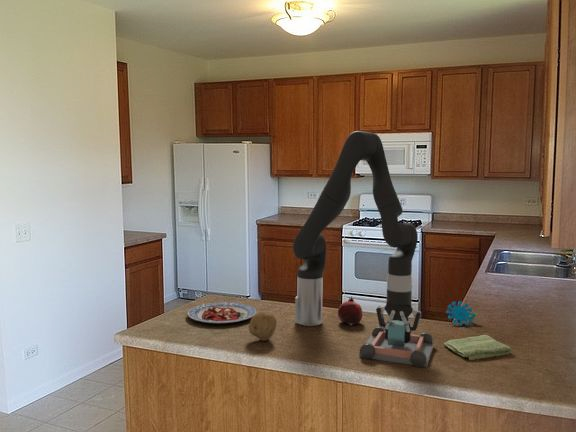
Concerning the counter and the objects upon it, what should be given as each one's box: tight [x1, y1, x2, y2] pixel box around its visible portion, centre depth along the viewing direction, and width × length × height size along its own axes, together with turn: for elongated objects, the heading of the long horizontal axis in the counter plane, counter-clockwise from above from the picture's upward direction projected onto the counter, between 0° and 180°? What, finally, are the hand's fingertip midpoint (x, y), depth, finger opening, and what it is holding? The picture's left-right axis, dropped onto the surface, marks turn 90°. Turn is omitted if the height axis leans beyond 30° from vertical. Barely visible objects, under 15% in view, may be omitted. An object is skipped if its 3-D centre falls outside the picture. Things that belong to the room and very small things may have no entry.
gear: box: [445, 300, 478, 327], centre depth 192 cm, size 11×6×10 cm
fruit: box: [337, 295, 363, 327], centre depth 189 cm, size 9×10×10 cm
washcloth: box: [443, 334, 513, 361], centre depth 164 cm, size 13×18×3 cm
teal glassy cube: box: [388, 320, 406, 347], centre depth 161 cm, size 5×6×6 cm
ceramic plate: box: [187, 301, 257, 325], centre depth 197 cm, size 26×26×3 cm
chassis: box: [358, 325, 434, 368], centre depth 162 cm, size 20×19×4 cm
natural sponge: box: [248, 310, 278, 342], centre depth 171 cm, size 9×9×10 cm
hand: (397, 341), depth 162 cm, fingers closed on teal glassy cube, 5 cm apart
